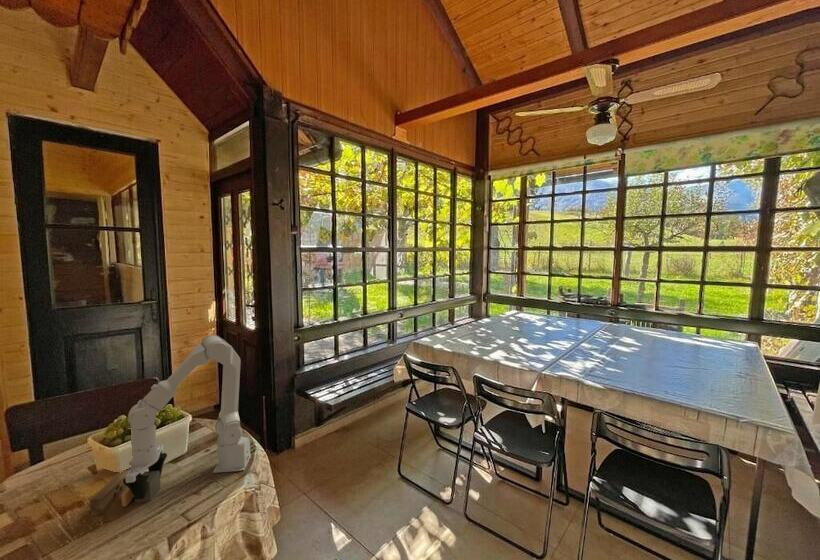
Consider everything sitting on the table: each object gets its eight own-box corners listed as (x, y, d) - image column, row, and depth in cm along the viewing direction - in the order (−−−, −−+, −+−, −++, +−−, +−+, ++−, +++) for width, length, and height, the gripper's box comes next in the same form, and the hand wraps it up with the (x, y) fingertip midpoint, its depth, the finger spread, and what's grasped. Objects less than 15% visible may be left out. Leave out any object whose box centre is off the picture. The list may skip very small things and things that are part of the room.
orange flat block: (143, 486, 106) (142, 475, 106) (126, 506, 98) (125, 494, 98) (140, 486, 106) (139, 475, 106) (122, 506, 98) (121, 494, 98)
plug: (160, 489, 105) (159, 470, 105) (150, 501, 100) (149, 481, 100) (140, 490, 105) (139, 472, 104) (129, 503, 100) (128, 483, 99)
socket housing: (132, 483, 108) (131, 469, 107) (104, 513, 96) (102, 498, 95) (121, 484, 107) (120, 470, 107) (91, 514, 95) (89, 499, 95)
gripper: (144, 432, 107) (148, 473, 109) (111, 462, 93) (115, 508, 95) (169, 430, 108) (172, 471, 110) (140, 460, 94) (144, 506, 96)
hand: (148, 488), depth 102 cm, fingers open, 7 cm apart
